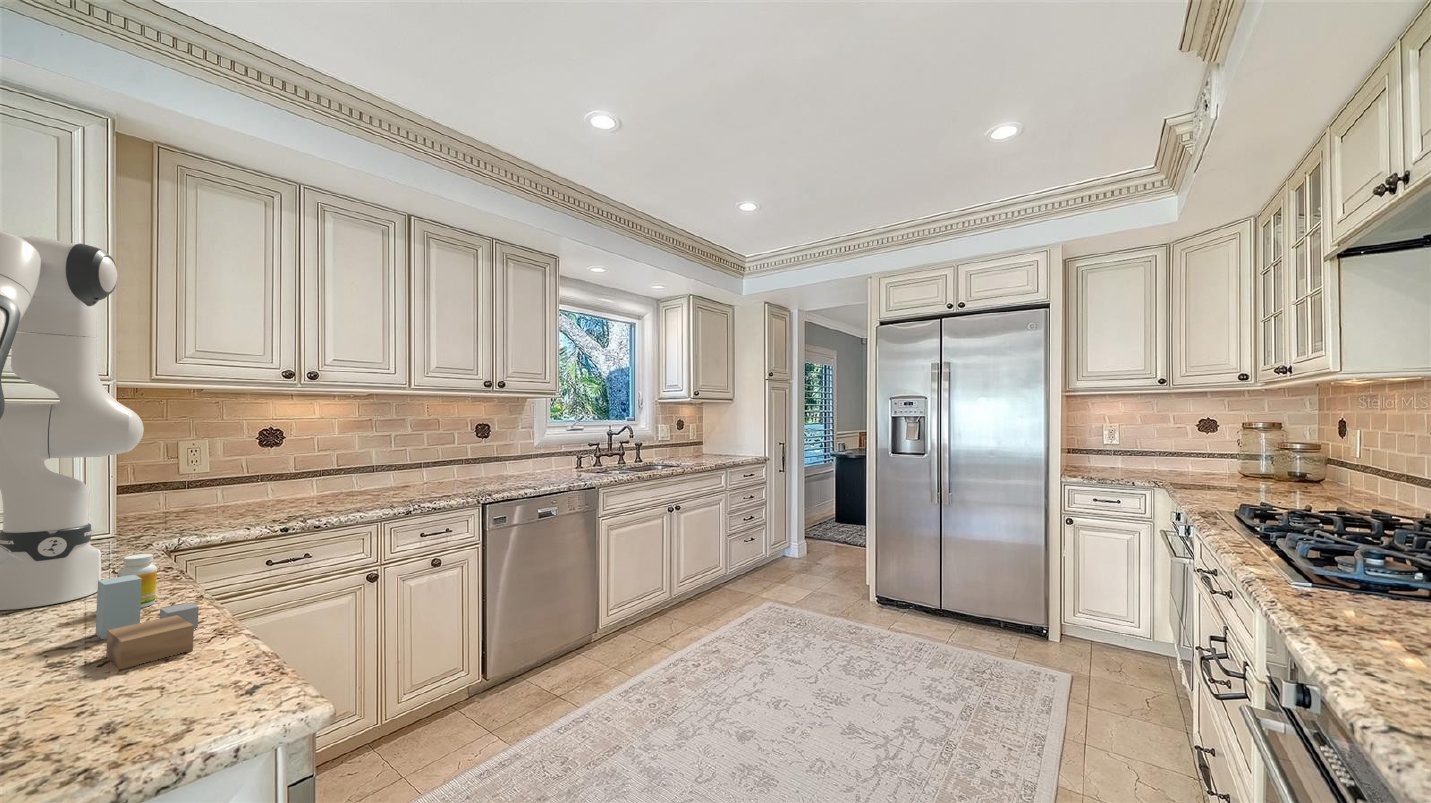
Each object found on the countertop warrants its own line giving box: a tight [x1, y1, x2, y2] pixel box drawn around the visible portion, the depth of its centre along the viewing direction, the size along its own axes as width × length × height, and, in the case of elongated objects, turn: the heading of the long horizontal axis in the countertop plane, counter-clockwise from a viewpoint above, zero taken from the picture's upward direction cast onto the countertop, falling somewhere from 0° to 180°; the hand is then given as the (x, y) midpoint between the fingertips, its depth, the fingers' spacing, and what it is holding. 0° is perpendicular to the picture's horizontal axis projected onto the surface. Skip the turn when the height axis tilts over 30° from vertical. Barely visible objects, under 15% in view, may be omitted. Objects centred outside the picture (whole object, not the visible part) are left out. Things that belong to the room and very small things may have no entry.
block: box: [159, 602, 200, 629], centre depth 97 cm, size 4×4×4 cm
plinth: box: [105, 615, 195, 670], centre depth 87 cm, size 8×8×4 cm
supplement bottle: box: [117, 553, 158, 609], centre depth 109 cm, size 5×5×10 cm
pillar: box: [95, 575, 142, 640], centre depth 96 cm, size 4×4×9 cm
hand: (12, 561), depth 86 cm, fingers open, 8 cm apart
